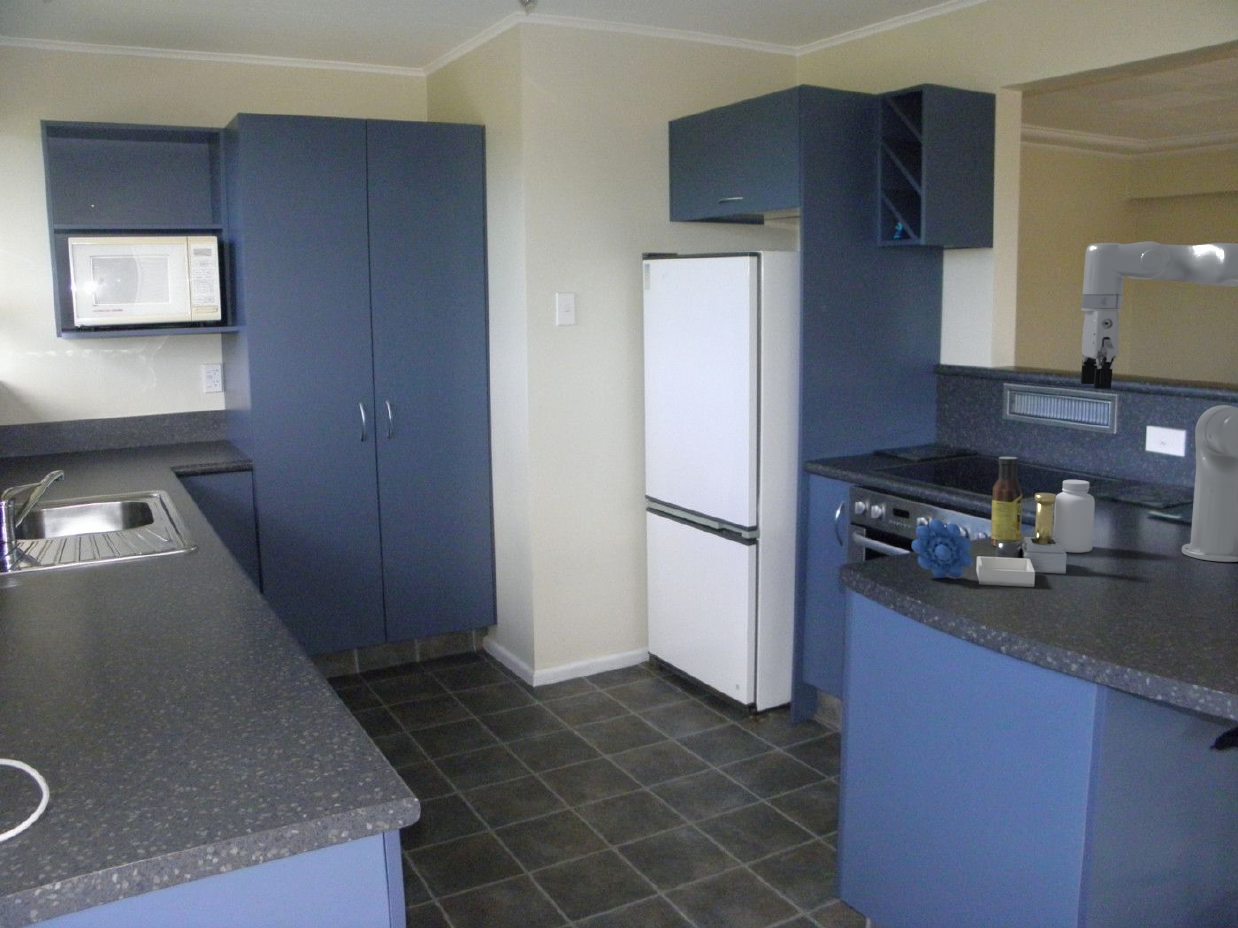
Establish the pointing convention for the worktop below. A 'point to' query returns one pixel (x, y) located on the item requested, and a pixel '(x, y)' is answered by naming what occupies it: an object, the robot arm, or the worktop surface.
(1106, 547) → the worktop surface
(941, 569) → the blue flower
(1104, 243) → the robot arm
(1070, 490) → the pill bottle
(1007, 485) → the sauce bottle
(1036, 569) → the tensioner block
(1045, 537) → the pin
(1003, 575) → the tray
